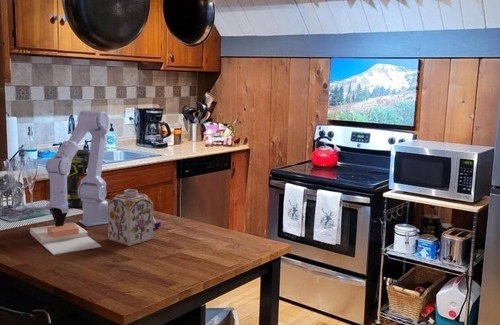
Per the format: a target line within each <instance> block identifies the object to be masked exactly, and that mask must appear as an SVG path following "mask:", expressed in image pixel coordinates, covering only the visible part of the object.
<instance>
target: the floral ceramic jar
mask: <svg viewBox="0 0 500 325" xmlns="http://www.w3.org/2000/svg"><path fill="white" fill-rule="evenodd" d="M153 216H154V202H153V201H152V199H150V197H149V196H148V195H147V194H143V193H139V192H138V190H137V189H134V188H133V189H132V188H128V189H124V191H123V193H120V194H116V195H114V197H113V198H111V200H109V202H108V223H107V237H108V238H107V239H108V240H109V241H113V242H116V243H119V244H122V245H125V246H127V247H131V246H134V245H137V244H141V243H144V242H147V241H150V240H153V239H154V225H153Z"/></svg>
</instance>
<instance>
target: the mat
mask: <svg viewBox="0 0 500 325" xmlns="http://www.w3.org/2000/svg"><path fill="white" fill-rule="evenodd" d="M41 245H42V246H43V247H44V248H45V249H46V250H47V251H48V252H50V253H51V255H53V256H56V255H63V254H67V253H74V252H79V251H85V250H90V249H96V248H101V247H102V245H101V244H99V243H98V242H97V241H95V240H94V239H93V238H91V237H90V236H87V237H81V238H74V239H68V240H62V241H56V242H49V243H43V244H41Z"/></svg>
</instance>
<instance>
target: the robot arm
mask: <svg viewBox="0 0 500 325" xmlns="http://www.w3.org/2000/svg"><path fill="white" fill-rule="evenodd" d="M76 118H77V124H76V126H75V128H74V130H73V132H72V133H71V135H70V137H69V139H68V140H63V142H62V143H61V145H60V147H59V148H58V150H57V151H56V153H55V154H54V156H53V157H50V158H49V159H48V160H47V162H46V165H45V171H46V172H47V175H48V178H49V195H50V196H49V198H50V199H49V203H46V206H47V207H48V208H49V207H50V208H49V212H50V214H51V215H52V216H51V217H52V218H53V222H54V225H55V226H56V227H57V226H64V224H65V221H66V217H67V215H68V214H69V213H70V212H69V209H70V207H68V202H67V177H68V174H69V172H70V168H71V163H72V161H71V160H72V159H73V157H74V156H75V154H76V152H77V151H78V149H79V147H78V145H79V144H80V142H81V141H82V140H83V138H84V137H85V135H87V133H89V134H90V135H91V141H90V148H89V151H90V154H89V162H88V168H87V173H86V175H85V176H84V177H83V178H81V179H80V181H79V182H80V184H79V185H78V196H79V198H81V201H83V207H82V220H78V222H79V223H81V224H82V225H83V226H85V227H93V226H100V225H108V203H109V202H108V201H107V200H106V199H105V198H106V197H107V193H108V192H107V182H106V181H105V179H103V178H102V170H103V162H104V155H105V146H106V139H107V134H108V129H109V123H110V117H109V116H108V114H107V112H106V111H99V110H87V109H82V110H81V111H80V112H79V115H78V116H77V117H76Z"/></svg>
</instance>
